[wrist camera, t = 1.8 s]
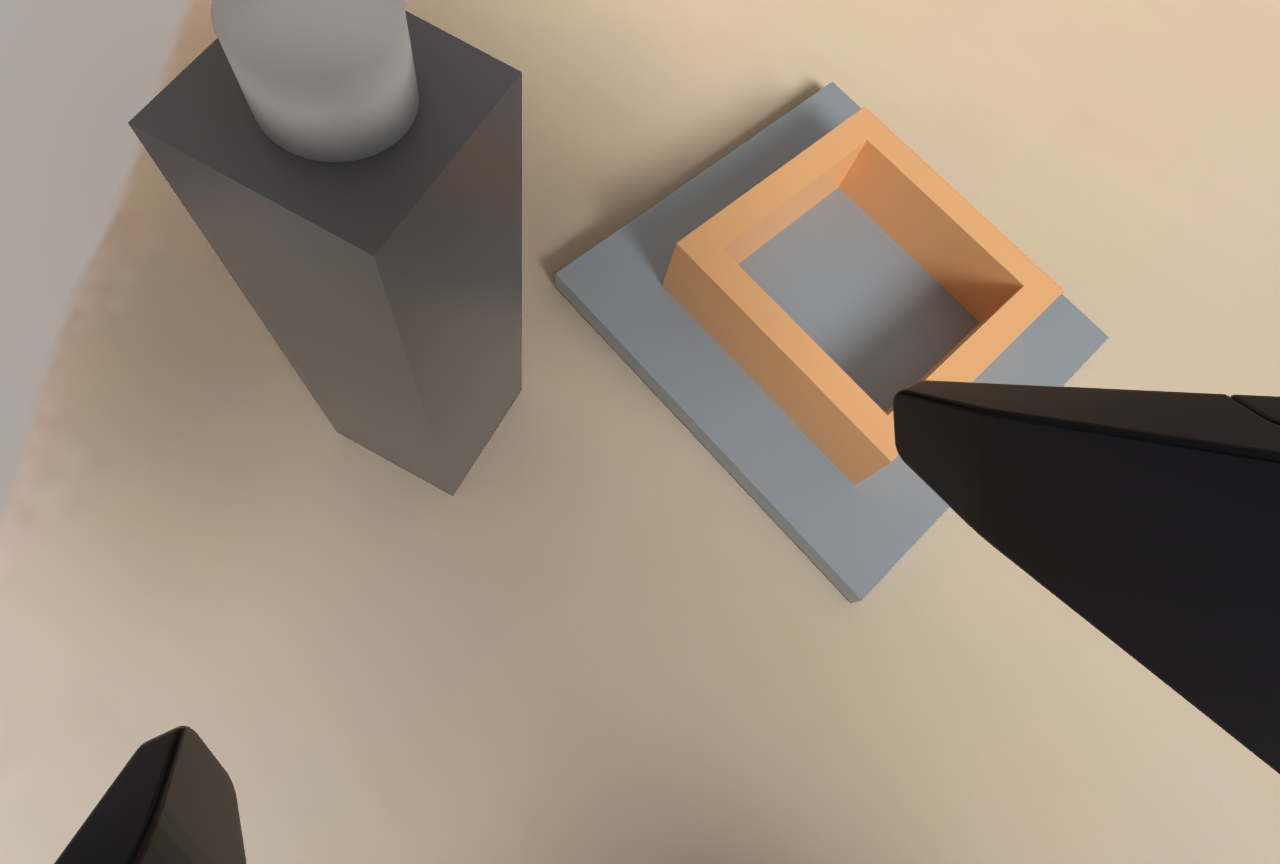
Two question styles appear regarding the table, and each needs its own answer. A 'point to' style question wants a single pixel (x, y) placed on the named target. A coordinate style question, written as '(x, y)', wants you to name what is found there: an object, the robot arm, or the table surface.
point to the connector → (362, 212)
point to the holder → (823, 322)
